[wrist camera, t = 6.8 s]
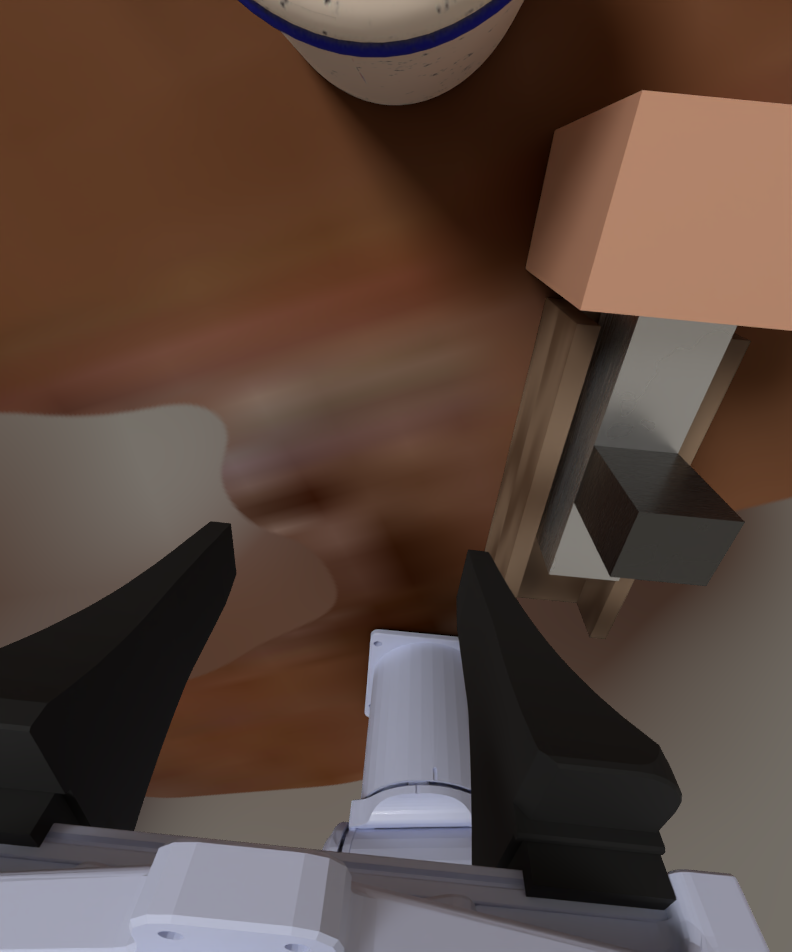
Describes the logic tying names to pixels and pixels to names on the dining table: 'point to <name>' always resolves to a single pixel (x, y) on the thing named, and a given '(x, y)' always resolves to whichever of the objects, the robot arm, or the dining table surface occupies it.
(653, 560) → the slide bar
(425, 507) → the dining table surface
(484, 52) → the teacup with lid
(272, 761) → the dining table surface
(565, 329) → the guide channel
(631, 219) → the tan square block
